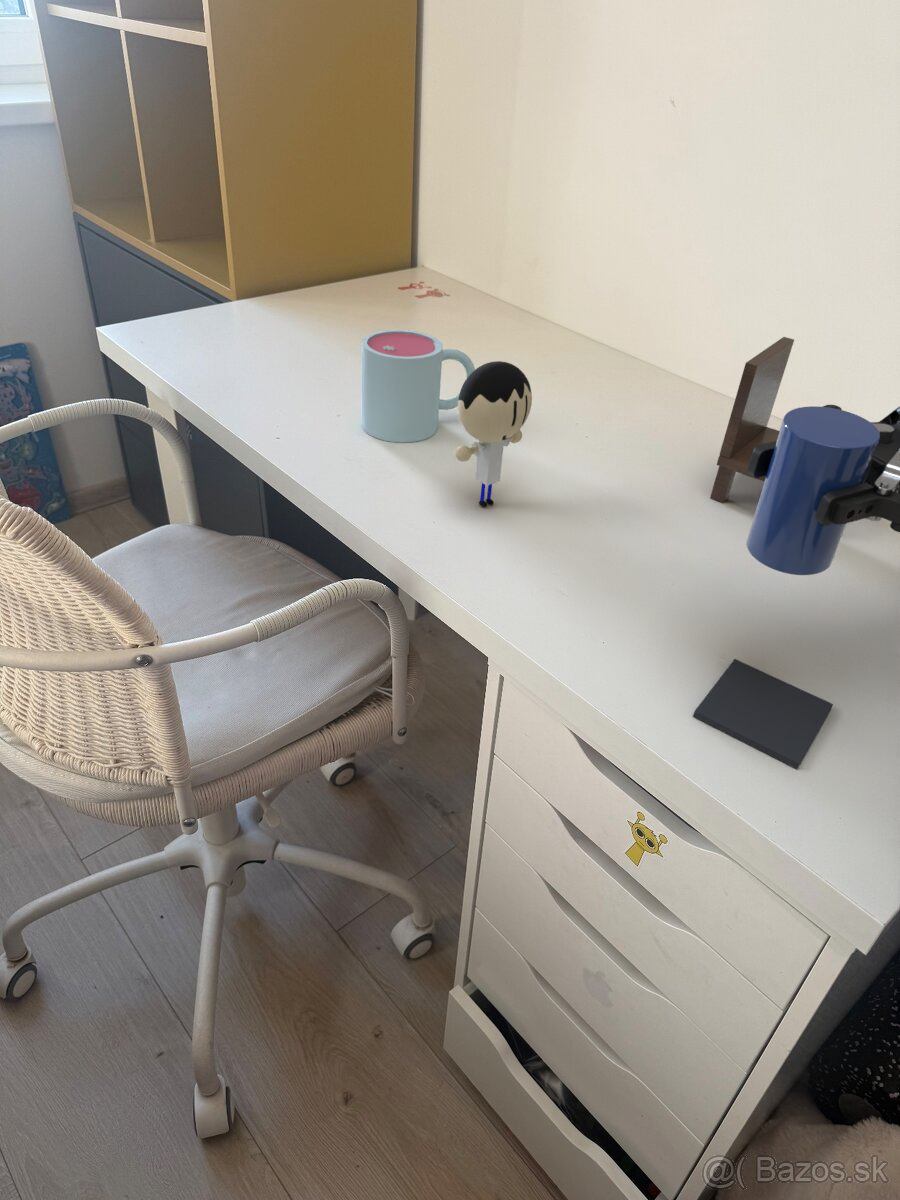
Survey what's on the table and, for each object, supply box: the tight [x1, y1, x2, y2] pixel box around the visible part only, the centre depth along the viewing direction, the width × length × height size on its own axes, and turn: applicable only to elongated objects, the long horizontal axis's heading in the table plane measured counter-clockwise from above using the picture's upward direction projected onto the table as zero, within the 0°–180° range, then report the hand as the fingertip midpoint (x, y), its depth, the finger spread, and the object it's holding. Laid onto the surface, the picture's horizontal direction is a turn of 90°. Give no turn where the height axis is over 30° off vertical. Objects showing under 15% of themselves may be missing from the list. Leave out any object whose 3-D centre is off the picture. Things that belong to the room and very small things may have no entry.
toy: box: [455, 360, 533, 508], centre depth 81 cm, size 9×7×15 cm
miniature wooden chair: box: [709, 336, 795, 503], centre depth 86 cm, size 12×11×15 cm
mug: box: [361, 329, 476, 444], centre depth 97 cm, size 14×9×10 cm
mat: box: [692, 658, 834, 770], centre depth 63 cm, size 8×8×1 cm
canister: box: [746, 406, 880, 576], centre depth 57 cm, size 6×6×10 cm
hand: (787, 485), depth 56 cm, fingers closed on canister, 6 cm apart
